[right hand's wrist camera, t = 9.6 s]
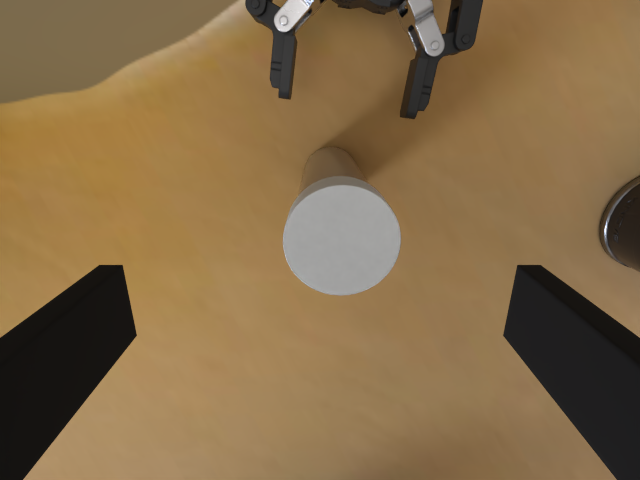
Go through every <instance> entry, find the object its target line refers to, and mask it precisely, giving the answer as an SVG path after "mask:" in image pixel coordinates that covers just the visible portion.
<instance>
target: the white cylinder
mask: <svg viewBox="0 0 640 480" xmlns="http://www.w3.org/2000/svg"><path fill="white" fill-rule="evenodd" d="M400 245H401V233H400V227H399V223H398V220H397V218H396V216H395V214H394V212H393V211H392V209H391V208H390V206H389V205H388V203H387V202H386V200H385V199H384V197H383V196H382V195H381V194H380V193H379V192H378V191H377V190H376V189H375V188H374V187H373V186H371V185H370V184H368V183H366V182H364V181H362V180H359V179H357V178H353V177H347V176H334V177H328V178H325V179H322V180H319V181H317V182H315V183H313V184H311V185H310V186H308V187H307V188H306V189H305V190H303V191H302V192H301V193H300V195H299V196H298V197H297V198H296V200H295V201H294V203H293V205H292V207H291V209H290V212H289V215H288V218H287V221H286V225H285V229H284V234H283V248H284V253H285V257H286V259H287V262H288V264H289V266H290V268H291V269H292V271H293V272H294V274H295V275H296V276H297V277H298V278H299V279H300V280H301V281H302V282H304V283H305V284H306V285H308V286H309V287H311V288H313V289H315V290H317V291H319V292H323V293H326V294H331V295H350V294H356V293H359V292H362V291H365V290H367V289H369V288H371V287H373V286H374V285H376V284H377V283H379V282H380V281H381V280H382V279H383V278H384V277H385V276H386V275H387V274H388V273H389V272H390V270H391V269H392V267H393V266H394V264H395V262H396V260H397V257H398V254H399V251H400Z"/></svg>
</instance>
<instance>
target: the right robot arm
mask: <svg viewBox="0 0 640 480" xmlns="http://www.w3.org/2000/svg"><path fill="white" fill-rule="evenodd" d="M136 336H137V334H136V329H135V324H134V320H133V315H132V310H131V305H130V300H129V295H128V290H127V285H126V280H125V275H124V270H123V265H99V266H98V267H96V268H95V269H94V270H92V271H91V272H89V273H88V274H87V275H85V276H84V277H83V278H81V279H80V280H79V281H77V282H76V283H74V284H73V285H72V286H70V287H69V288H68V289H66V290H65V291H64V292H62V293H61V294H59V295H58V296H57V297H55V298H54V299H53V300H51V301H50V302H49V303H47V304H46V305H44V306H43V307H42V308H40V309H39V310H38V311H36V312H35V313H34V314H32V315H31V316H29V317H28V318H27V319H25V320H24V321H23V322H21V323H20V324H19V325H17V326H16V327H14V328H13V329H12V330H10V331H9V332H8V333H6V334H5V335H4V336H2V337H1V338H0V480H23V479H24V478H25V476H26V475H27V474H28V473H29V471H30V470H31V469H32V468H33V466H34V465H35V464H36V463H37V461H38V460H39V459H40V457H41V456H42V455H43V454H44V452H45V451H46V450H47V449H48V447H49V446H50V445H51V444H52V442H53V441H54V440H55V438H56V437H57V436H58V435H59V433H60V432H61V431H62V430H63V428H64V427H65V426H66V425H67V423H68V422H69V421H70V419H71V418H72V417H73V416H74V414H75V413H76V412H77V411H78V409H79V408H80V407H81V406H82V404H83V403H84V402H85V400H86V399H87V398H88V397H89V395H90V394H91V393H92V392H93V390H94V389H95V388H96V387H97V385H98V384H99V383H100V381H101V380H102V379H103V378H104V376H105V375H106V374H107V373H108V371H109V370H110V369H111V368H112V366H113V365H114V364H115V362H116V361H117V360H118V359H119V357H120V356H121V355H122V354H123V352H124V351H125V350H126V349H127V347H128V346H129V345H130V343H131V342H132V341H133V340H134V338H135V337H136ZM503 336H504V337H505V338H506V340H507V341H508V342H509V343H510V345H511V346H512V347H513V349H514V350H515V351H516V352H517V354H518V355H519V356H520V357H521V359H522V360H523V361H524V362H525V364H526V365H527V366H528V368H529V369H530V370H531V371H532V373H533V374H534V375H535V376H536V378H537V379H538V380H539V381H540V383H541V384H542V385H543V387H544V388H545V389H546V390H547V392H548V393H549V394H550V395H551V397H552V398H553V399H554V400H555V402H556V403H557V404H558V406H559V407H560V408H561V409H562V411H563V412H564V413H565V414H566V416H567V417H568V418H569V419H570V421H571V422H572V423H573V425H574V426H575V427H576V428H577V430H578V431H579V432H580V433H581V435H582V436H583V437H584V438H585V440H586V441H587V442H588V444H589V445H590V446H591V447H592V449H593V450H594V451H595V452H596V454H597V455H598V456H599V457H600V459H601V460H602V461H603V463H604V464H605V465H606V466H607V468H608V469H609V470H610V471H611V473H612V474H613V475H614V476H615V478H616V479H617V480H640V338H639V337H638V336H636V335H635V334H634V333H632V332H631V331H630V330H628V329H627V328H626V327H624V326H623V325H621V324H620V323H619V322H617V321H616V320H615V319H613V318H612V317H611V316H609V315H608V314H606V313H605V312H604V311H602V310H601V309H600V308H598V307H597V306H596V305H594V304H593V303H591V302H590V301H589V300H587V299H586V298H585V297H583V296H582V295H581V294H579V293H578V292H576V291H575V290H574V289H572V288H571V287H570V286H568V285H567V284H566V283H564V282H563V281H561V280H560V279H559V278H557V277H556V276H555V275H553V274H552V273H551V272H549V271H548V270H546V269H545V268H544V267H542V266H541V265H517V270H516V275H515V280H514V285H513V290H512V295H511V300H510V305H509V310H508V315H507V320H506V324H505V329H504V334H503Z"/></svg>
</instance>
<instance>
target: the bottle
mask: <svg viewBox="0 0 640 480" xmlns="http://www.w3.org/2000/svg"><path fill="white" fill-rule="evenodd" d="M334 176H347V177H353V178H357V179H359V180H362V181H364V182H366V183H368V182H367V180H366V179H365V177H364V175H363V174H362V172H361V171H360V169H359V167H358V166H357V164H356V163H355V161H354V159H353V158H352V157H351V155H350V154H349V153H347V152H346V151H344V150H343V149H340V148H337V147H325V148H322V149H319V150H317V151H316V152H315V153H313V154H312V155H311V156H310V158H309V159H308V161H307V163H306V165H305V169H304V173H303V177H302V182H301V186H300V190H299V194H298V196H299V195H300V193H301V192H302V191H303V190H305V189H306V188H307V187H308V186H310V185H311V184H313V183H315V182H317V181H319V180H322V179H325V178H328V177H334ZM368 184H369V183H368Z"/></svg>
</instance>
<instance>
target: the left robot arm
mask: <svg viewBox="0 0 640 480" xmlns="http://www.w3.org/2000/svg"><path fill="white" fill-rule="evenodd" d="M325 1H326V0H287V1H286V2H285V4H284V5H283V6H282V7H281V8H280V7H278V6H277V5H275V4H273V3H272V0H246V3H245V4H246V8H247V10H248V12H249V13H250V14H251V15H252V17H253V18H254V20H255V21H256V22H258V23H261V24H263V25H264V26H266V27H268V28H269V29H271V30H272V32H273V48H272V60H271V71H270V81H271V85H272V87H274V88H278V89H279V98H283V99H289V100H290V99H291V94H292V85H293V76H294V67H295V58H296V49H297V40H296V37H295V34H296V32H297V31H298V30H299V29H300V28H301V27H302V26H303V24H304V23H305V22H306V21H307V20H308V19H309V18H310V17H311V16H312V15H314V14H315V13H316V12H317V10H318V9H319V8H320V7H321V6H322V5H323V4H324V3H325ZM332 1H334V2H335V3H337V4H338V7H341V8H347V9H352V8H359V7H362V8H365V9H367V10H369V11H371V12H372V13H377V14H383V15H385V13H386V12H390V11H393V10H395V11H396V13H397V16H398V18H399V21H400V23H401V25H402V27H403V29H404V30H405V31H406V32H407V34H408V37H409V39H410V41H411V44H412V46H413V49H414V51H415V53H416V56H415V59H413V60H411V62H410V66H409V71H408V76H407V81H406V86H405V91H404V96H403V101H402V105H401V110H400V117H403V118H409V119H415V118H416V115H417V112H418V111H424V110H425V108H426V107H427V105H428V103H429V99H430V94H431V90H432V86H433V81H434V77H435V72H436V68H437V64H438V62H439V60H440V59H441V58H442V57H443V56H448V55H454V54H457V53H459V52H461V51H465V50H467V49H469V48H471V47H472V46H473V44H474V42H475V38H476V33H477V28H478V23H479V18H480V13H481V8H482V3H483V0H451V6H450V12H449V17H448V23H447V29H446V34H442V35H441V32H440V29H439V27H438V24H437V22H436V19H435V17H434V13H433V10H434V9H433V4H432V1H431V0H332ZM404 7H406V8H407V9H405V8H404ZM600 239H601V243H602V246H603V248H604V250H605V251H606V253H607V254H608V255H609V256H610V257H611V258H612V259H614V260H615V261H617V262H619V263H621V264H623V265H625V266H627V267H630V268H633V269H635V270H636V271H638V272H640V177H638V178H636V179H635V180H633V181H631V182H630V183H628V184H627V185H626V186H624V187H623V188H622V189H621V190H620V191H619V192H618V193H617V194H616V195H615V196H614V197H613V199H612V200H611V201H610V203H609V204H608V206H607V208H606V210H605V212H604V214H603V217H602V220H601V225H600Z"/></svg>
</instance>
